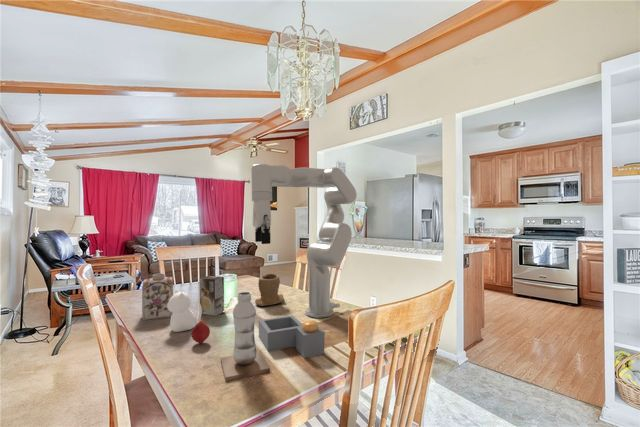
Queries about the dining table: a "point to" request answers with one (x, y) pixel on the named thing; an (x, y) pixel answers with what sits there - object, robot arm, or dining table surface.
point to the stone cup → (269, 290)
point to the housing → (290, 336)
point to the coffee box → (212, 295)
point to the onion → (200, 332)
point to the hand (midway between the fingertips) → (262, 242)
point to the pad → (243, 367)
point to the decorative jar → (156, 297)
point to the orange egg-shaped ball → (310, 326)
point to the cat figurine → (182, 312)
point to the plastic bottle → (244, 330)
